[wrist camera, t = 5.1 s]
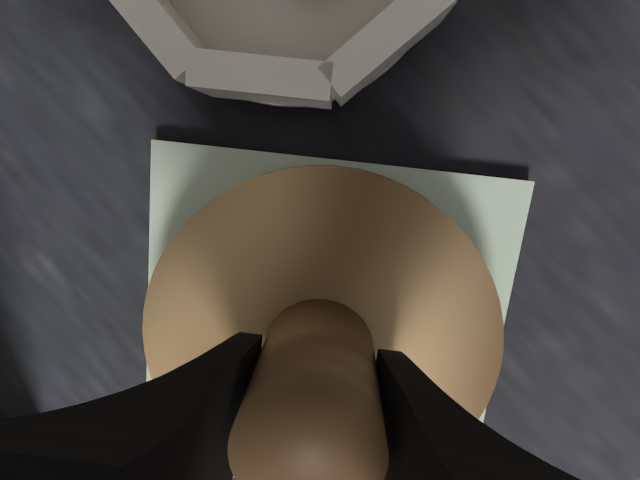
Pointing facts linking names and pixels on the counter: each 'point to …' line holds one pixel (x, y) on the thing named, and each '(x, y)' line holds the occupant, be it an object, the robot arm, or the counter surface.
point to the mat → (437, 186)
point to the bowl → (281, 44)
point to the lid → (324, 312)
